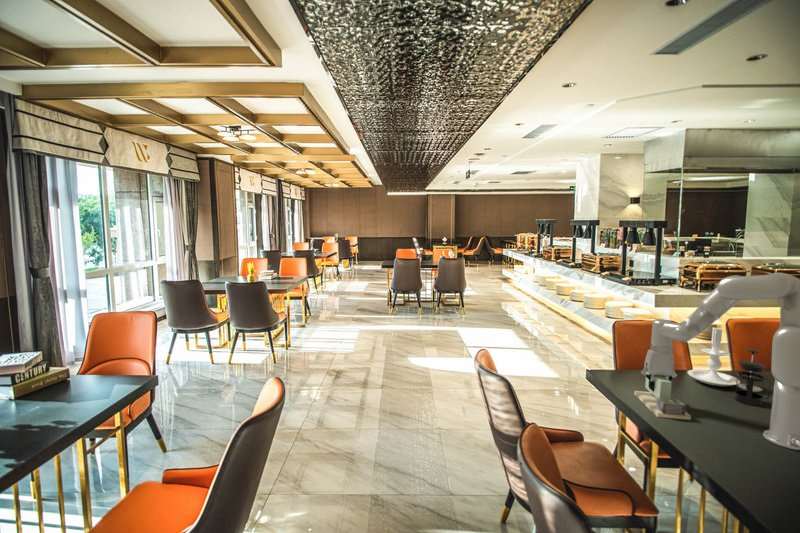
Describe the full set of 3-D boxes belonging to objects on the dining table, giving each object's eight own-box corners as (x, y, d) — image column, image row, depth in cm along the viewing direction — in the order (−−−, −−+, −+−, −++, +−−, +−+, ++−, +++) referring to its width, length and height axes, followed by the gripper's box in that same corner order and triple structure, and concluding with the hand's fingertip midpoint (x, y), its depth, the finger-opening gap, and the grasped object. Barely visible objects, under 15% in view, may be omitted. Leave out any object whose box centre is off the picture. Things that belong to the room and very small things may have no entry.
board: (690, 419, 160) (691, 406, 160) (657, 417, 162) (658, 403, 162) (663, 396, 183) (664, 384, 183) (634, 394, 185) (635, 382, 185)
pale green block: (670, 401, 169) (671, 382, 168) (659, 400, 169) (661, 381, 169) (654, 388, 183) (656, 370, 182) (645, 387, 183) (646, 370, 182)
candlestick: (735, 378, 207) (740, 324, 204) (742, 394, 186) (748, 334, 184) (686, 370, 218) (690, 318, 216) (687, 384, 198) (692, 327, 195)
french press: (732, 401, 178) (737, 350, 176) (732, 395, 186) (736, 345, 184) (768, 409, 171) (773, 355, 169) (766, 402, 178) (772, 350, 176)
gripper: (677, 347, 176) (674, 388, 178) (636, 344, 179) (632, 385, 181) (687, 352, 169) (683, 395, 171) (643, 349, 172) (640, 391, 173)
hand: (657, 389), depth 176 cm, fingers closed on pale green block, 4 cm apart
